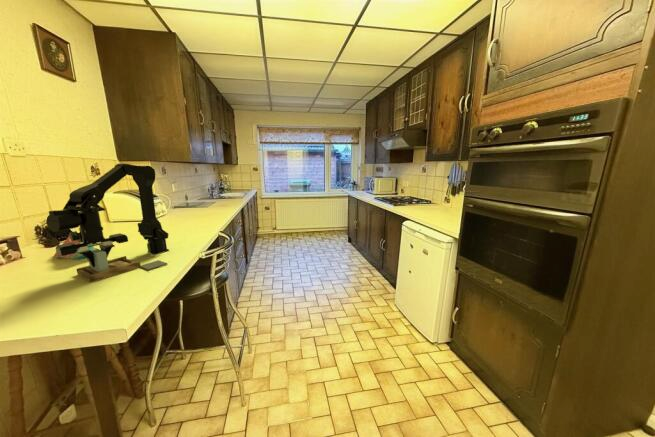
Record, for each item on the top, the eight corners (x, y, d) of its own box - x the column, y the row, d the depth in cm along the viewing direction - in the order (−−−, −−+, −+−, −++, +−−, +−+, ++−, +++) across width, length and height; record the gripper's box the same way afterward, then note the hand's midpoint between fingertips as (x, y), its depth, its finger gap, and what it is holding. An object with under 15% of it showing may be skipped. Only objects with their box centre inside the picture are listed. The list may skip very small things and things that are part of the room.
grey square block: (100, 269, 97) (95, 247, 95) (110, 274, 92) (105, 251, 90) (91, 272, 94) (86, 249, 93) (101, 277, 90) (96, 254, 88)
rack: (126, 261, 105) (125, 256, 105) (140, 267, 99) (139, 261, 99) (77, 274, 92) (76, 268, 92) (90, 282, 86) (89, 275, 86)
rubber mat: (158, 261, 105) (158, 260, 105) (167, 264, 101) (167, 263, 101) (139, 267, 99) (139, 265, 99) (148, 270, 95) (148, 269, 95)
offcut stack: (123, 263, 103) (122, 259, 102) (132, 267, 99) (132, 263, 98) (107, 268, 98) (106, 263, 98) (116, 272, 94) (116, 268, 94)
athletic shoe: (95, 263, 106) (109, 237, 112) (68, 256, 99) (84, 229, 105) (71, 266, 119) (85, 243, 124) (45, 260, 112) (61, 235, 117)
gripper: (112, 218, 101) (119, 254, 104) (45, 227, 85) (56, 270, 89) (125, 220, 96) (132, 259, 99) (56, 231, 80) (67, 276, 83)
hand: (99, 265), depth 93 cm, fingers closed on grey square block, 3 cm apart
